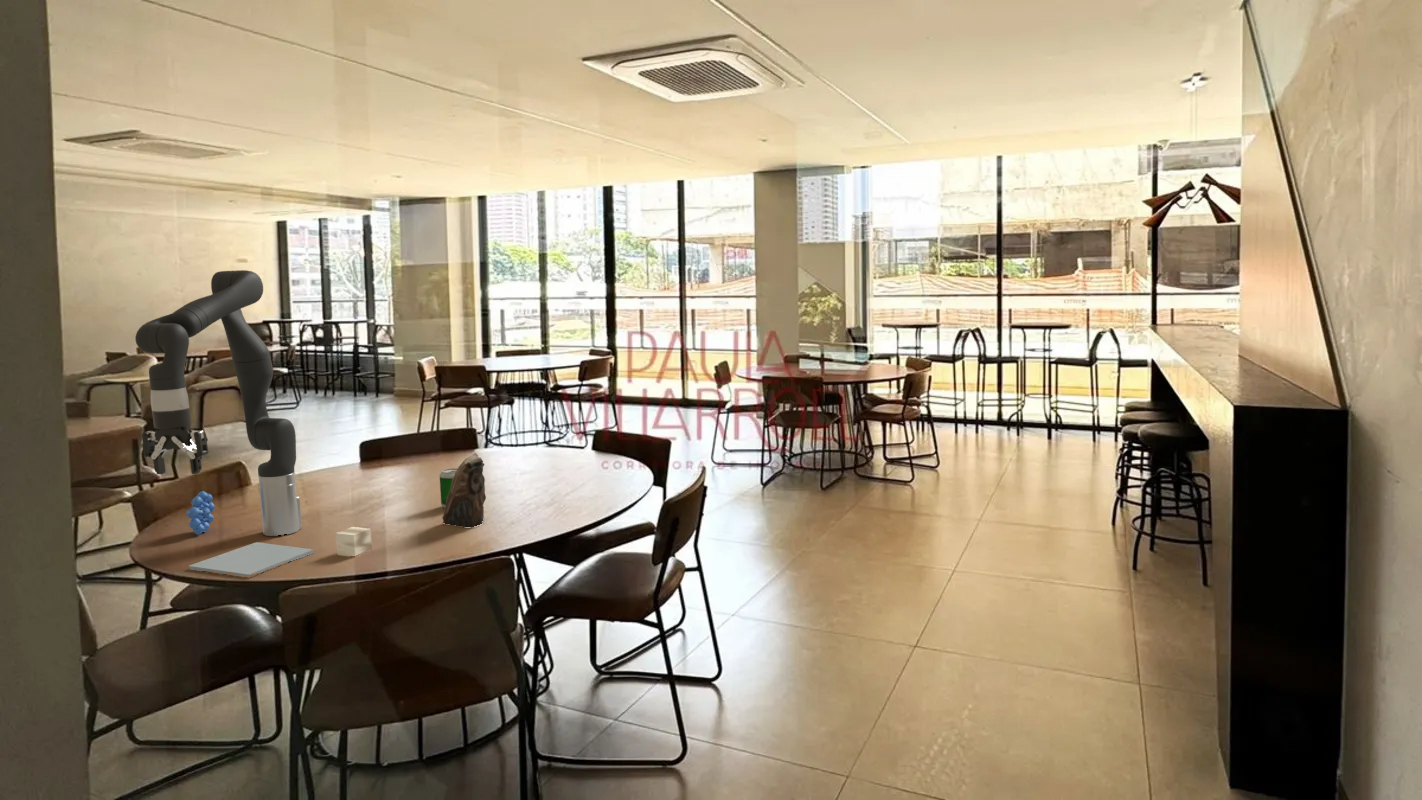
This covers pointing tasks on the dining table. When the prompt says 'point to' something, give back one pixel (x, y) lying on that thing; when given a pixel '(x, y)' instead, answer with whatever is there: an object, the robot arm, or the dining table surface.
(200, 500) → the grapes
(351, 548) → the maple block
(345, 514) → the dining table surface
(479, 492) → the owl
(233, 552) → the slate board
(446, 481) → the soda can
